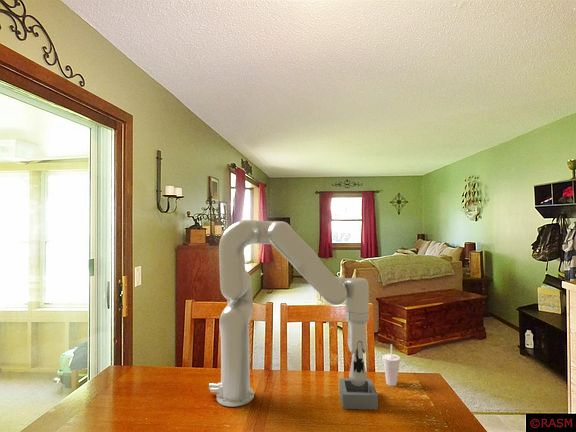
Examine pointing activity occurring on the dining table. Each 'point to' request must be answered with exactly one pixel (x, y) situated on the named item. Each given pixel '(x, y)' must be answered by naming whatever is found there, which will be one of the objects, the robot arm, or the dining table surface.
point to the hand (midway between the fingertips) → (357, 370)
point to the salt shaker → (357, 374)
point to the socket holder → (358, 395)
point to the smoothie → (391, 368)
